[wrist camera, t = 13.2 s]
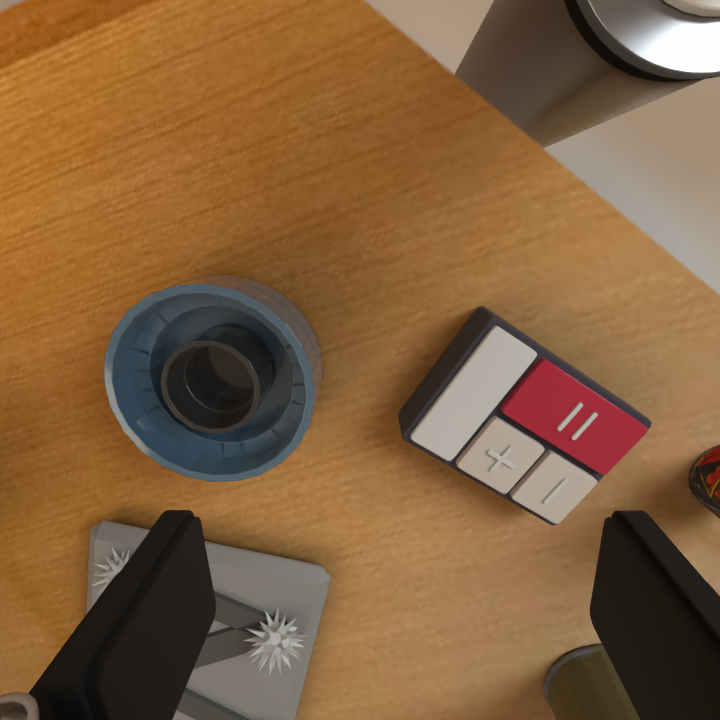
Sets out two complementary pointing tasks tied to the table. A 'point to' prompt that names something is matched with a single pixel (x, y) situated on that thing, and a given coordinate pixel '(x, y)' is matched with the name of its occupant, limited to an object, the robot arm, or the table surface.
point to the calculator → (519, 419)
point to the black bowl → (217, 379)
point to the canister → (587, 687)
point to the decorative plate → (236, 626)
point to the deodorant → (707, 480)
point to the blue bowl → (179, 325)
